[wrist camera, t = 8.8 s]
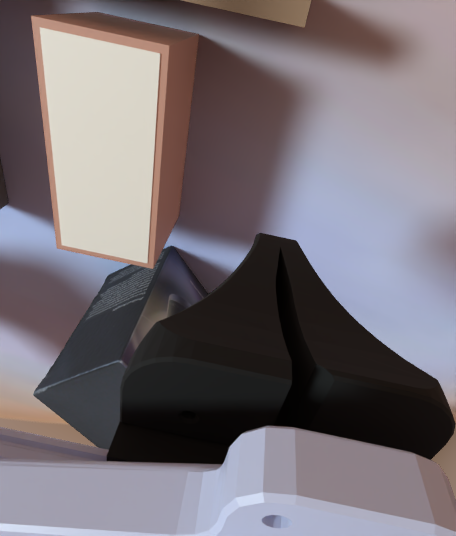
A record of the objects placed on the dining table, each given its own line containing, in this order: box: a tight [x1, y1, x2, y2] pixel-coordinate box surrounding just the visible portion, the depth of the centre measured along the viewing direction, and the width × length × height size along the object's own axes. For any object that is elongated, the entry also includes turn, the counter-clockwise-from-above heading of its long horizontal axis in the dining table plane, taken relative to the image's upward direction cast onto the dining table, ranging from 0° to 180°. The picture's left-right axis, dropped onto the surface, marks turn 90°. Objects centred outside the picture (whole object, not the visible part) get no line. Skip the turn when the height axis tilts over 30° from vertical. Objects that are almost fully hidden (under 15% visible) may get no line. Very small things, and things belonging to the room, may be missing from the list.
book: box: [31, 12, 199, 269], centre depth 19 cm, size 5×10×6 cm, turn 170°
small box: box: [33, 246, 208, 450], centre depth 24 cm, size 11×6×10 cm, turn 30°
